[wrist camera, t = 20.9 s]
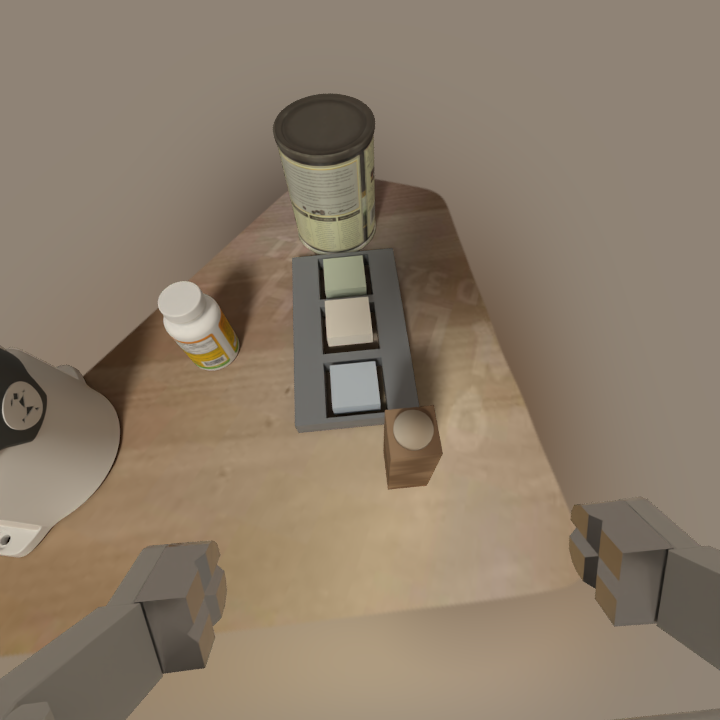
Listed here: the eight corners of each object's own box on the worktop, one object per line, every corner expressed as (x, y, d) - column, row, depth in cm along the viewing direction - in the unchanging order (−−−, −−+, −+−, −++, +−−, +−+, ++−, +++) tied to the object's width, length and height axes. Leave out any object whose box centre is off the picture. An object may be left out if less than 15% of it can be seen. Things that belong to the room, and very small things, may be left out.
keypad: (298, 432, 41) (295, 426, 40) (295, 268, 51) (292, 257, 49) (418, 420, 41) (420, 413, 40) (392, 259, 51) (392, 248, 49)
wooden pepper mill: (388, 489, 38) (391, 456, 28) (383, 451, 40) (384, 407, 30) (426, 485, 38) (443, 451, 28) (420, 447, 40) (434, 402, 30)
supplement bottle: (212, 322, 48) (176, 266, 39) (250, 341, 47) (220, 287, 38) (182, 359, 46) (136, 308, 37) (220, 379, 44) (181, 332, 36)
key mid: (328, 346, 43) (326, 338, 42) (326, 310, 45) (324, 300, 44) (372, 342, 43) (372, 333, 42) (368, 306, 45) (368, 296, 44)
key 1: (334, 414, 41) (332, 408, 40) (331, 373, 43) (329, 365, 42) (380, 409, 41) (380, 403, 40) (375, 368, 43) (375, 361, 42)
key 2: (326, 299, 48) (325, 290, 46) (324, 268, 50) (323, 259, 48) (366, 295, 48) (366, 286, 46) (363, 265, 50) (362, 255, 48)
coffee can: (289, 211, 56) (263, 105, 44) (361, 192, 57) (356, 83, 45) (308, 267, 51) (285, 166, 39) (387, 245, 52) (389, 140, 40)
